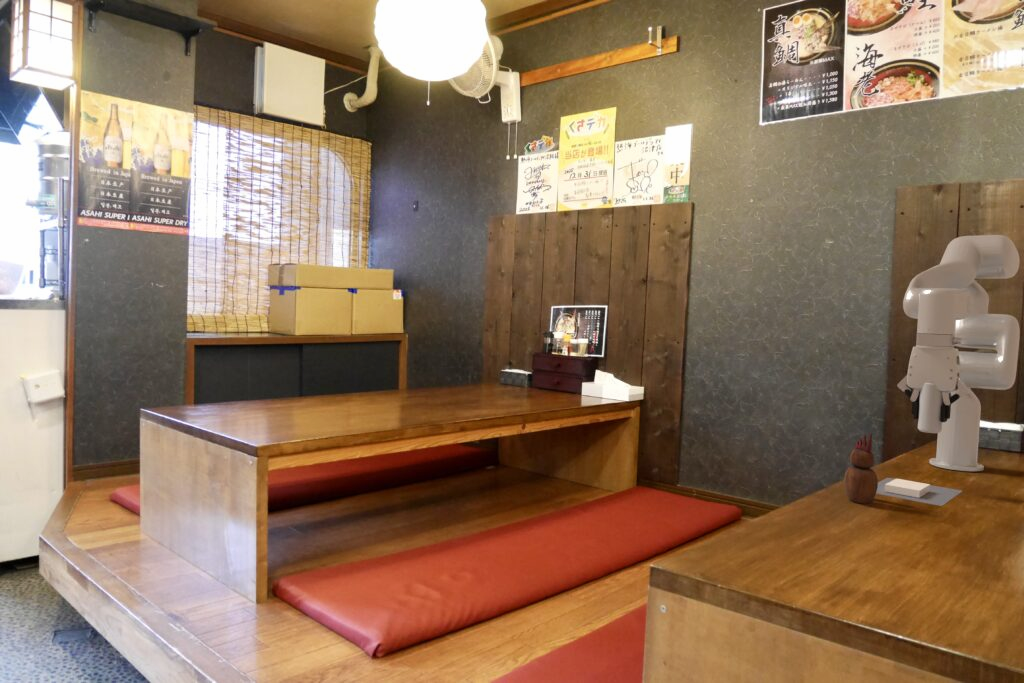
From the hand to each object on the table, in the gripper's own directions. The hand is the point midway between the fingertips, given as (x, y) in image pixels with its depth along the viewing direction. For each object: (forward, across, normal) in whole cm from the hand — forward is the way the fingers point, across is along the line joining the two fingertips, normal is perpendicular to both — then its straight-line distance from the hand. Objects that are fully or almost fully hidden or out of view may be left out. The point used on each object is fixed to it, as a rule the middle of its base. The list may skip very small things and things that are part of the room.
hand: (930, 419), depth 164 cm
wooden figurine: (+16, +7, +25) cm, 30 cm away
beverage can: (+3, 0, 0) cm, 3 cm away
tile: (+15, +2, +4) cm, 16 cm away
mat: (+17, +1, +6) cm, 18 cm away
